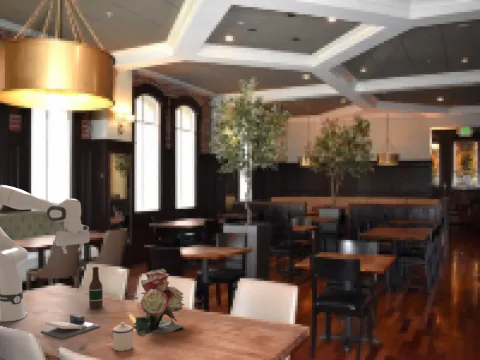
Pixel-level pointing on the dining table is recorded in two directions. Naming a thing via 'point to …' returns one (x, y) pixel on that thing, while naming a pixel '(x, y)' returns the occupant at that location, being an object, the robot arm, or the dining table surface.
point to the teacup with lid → (122, 337)
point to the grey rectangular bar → (80, 320)
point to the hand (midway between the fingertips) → (72, 252)
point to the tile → (64, 325)
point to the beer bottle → (95, 290)
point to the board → (66, 331)
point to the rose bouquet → (158, 304)
